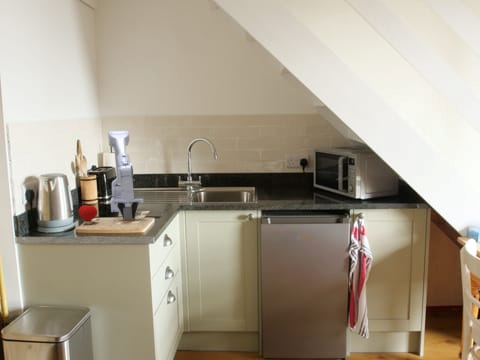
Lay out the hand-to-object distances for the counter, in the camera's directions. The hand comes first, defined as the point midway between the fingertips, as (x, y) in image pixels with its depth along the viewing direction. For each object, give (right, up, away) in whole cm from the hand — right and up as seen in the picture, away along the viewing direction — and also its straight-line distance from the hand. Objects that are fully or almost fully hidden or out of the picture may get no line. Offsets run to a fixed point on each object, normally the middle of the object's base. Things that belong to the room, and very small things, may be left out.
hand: (129, 218), depth 211 cm
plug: (0, -2, 0) cm, 2 cm away
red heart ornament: (-18, -4, -3) cm, 19 cm away
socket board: (0, -2, +6) cm, 6 cm away
